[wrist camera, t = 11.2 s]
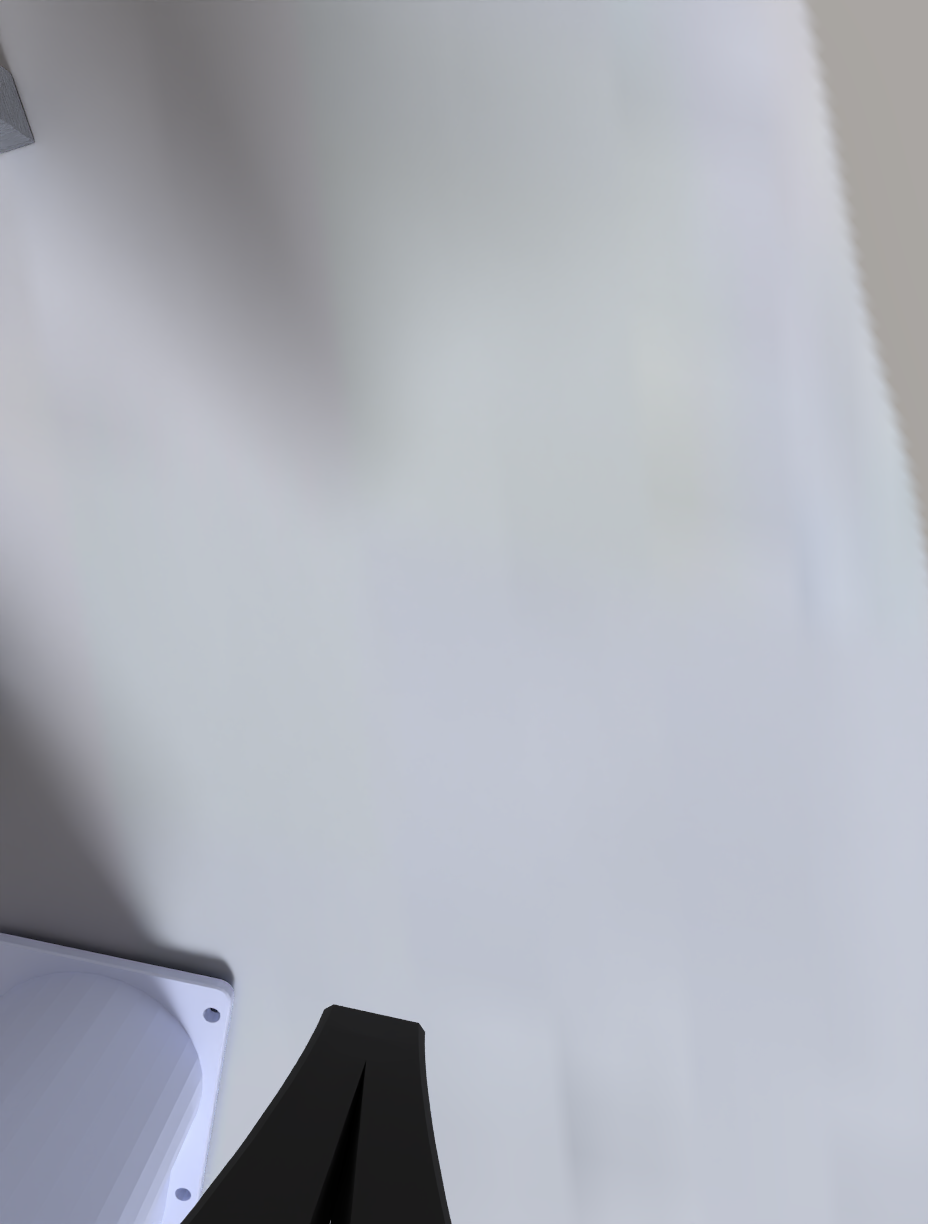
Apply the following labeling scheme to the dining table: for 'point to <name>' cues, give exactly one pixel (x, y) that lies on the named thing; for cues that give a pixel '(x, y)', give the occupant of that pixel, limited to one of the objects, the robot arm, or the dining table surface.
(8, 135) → the tray
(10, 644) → the dining table surface
